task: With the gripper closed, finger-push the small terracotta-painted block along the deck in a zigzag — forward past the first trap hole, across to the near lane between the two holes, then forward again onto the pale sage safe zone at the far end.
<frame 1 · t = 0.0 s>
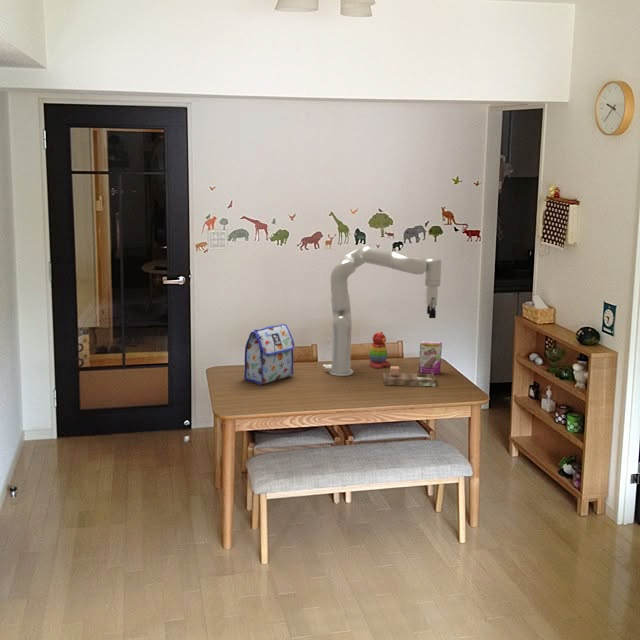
hand: (431, 315, 431), 31 cm above the table, tool pointing down, fingers open, 9 cm apart
stacking bear: (378, 365, 454), on the table
deck: (408, 381, 426), on the table
lunch bag: (269, 379, 427), on the table
candy bar box: (429, 373, 442), on the table
block: (394, 375, 430), point 2 cm above the table, touching deck
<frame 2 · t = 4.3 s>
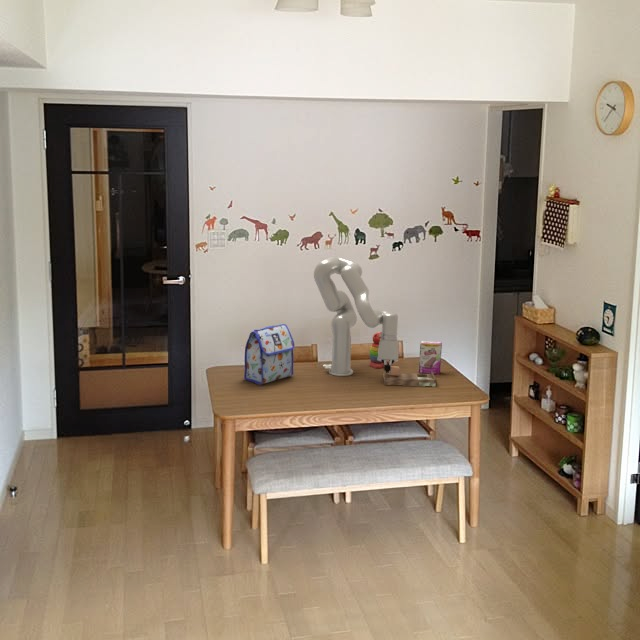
hand: (387, 371, 430), 4 cm above the table, tool pointing down, fingers closed
block: (394, 375, 430), point 2 cm above the table, touching deck, gripper
everything else where it was.
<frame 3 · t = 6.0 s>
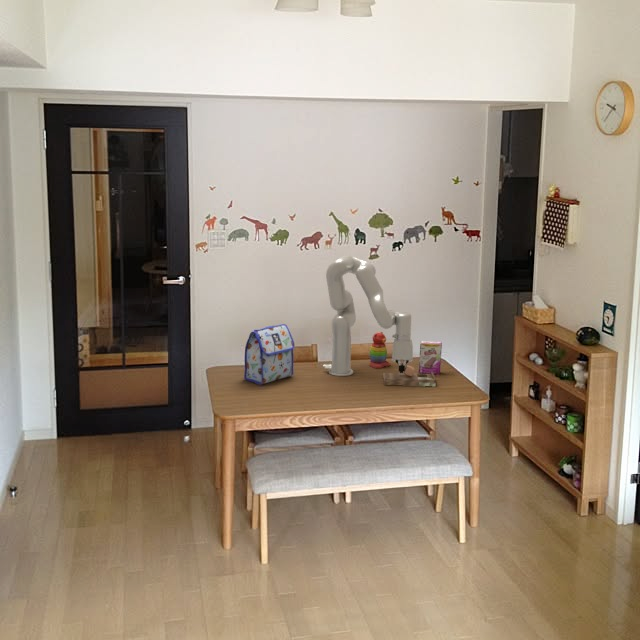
hand: (401, 372, 429), 4 cm above the table, tool pointing down, fingers closed
block: (407, 374, 429), point 2 cm above the table, tilted 19°, touching deck, gripper
everything else where it was.
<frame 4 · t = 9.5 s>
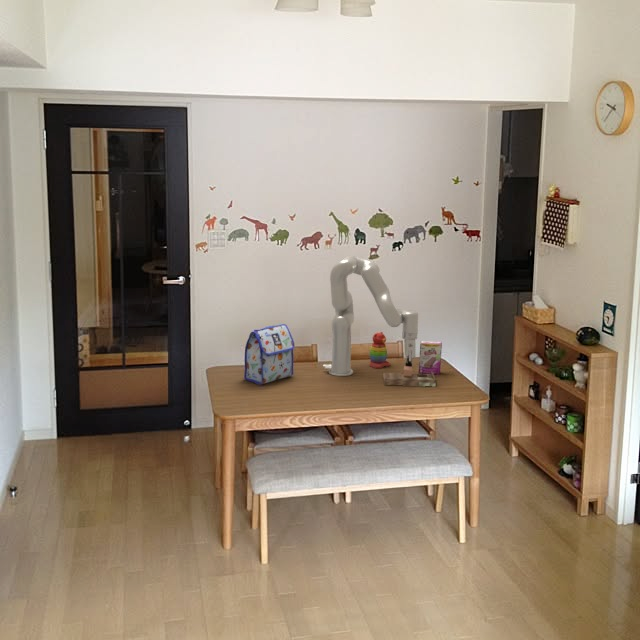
hand: (408, 370, 432), 4 cm above the table, tool pointing down, fingers closed
block: (407, 375, 429), point 2 cm above the table, tilted 7°, touching deck, gripper
everything else where it was.
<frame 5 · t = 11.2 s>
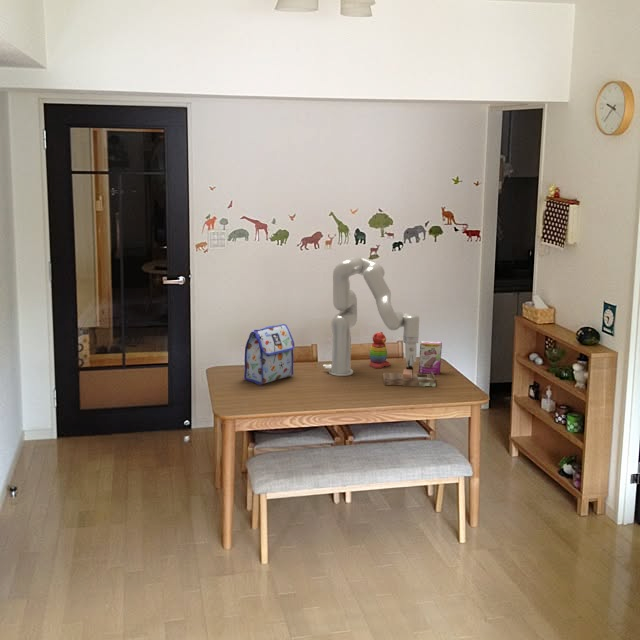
hand: (409, 374, 425), 4 cm above the table, tool pointing down, fingers closed
block: (407, 378, 423), point 3 cm above the table, tilted 20°, touching deck, gripper
everything else where it was.
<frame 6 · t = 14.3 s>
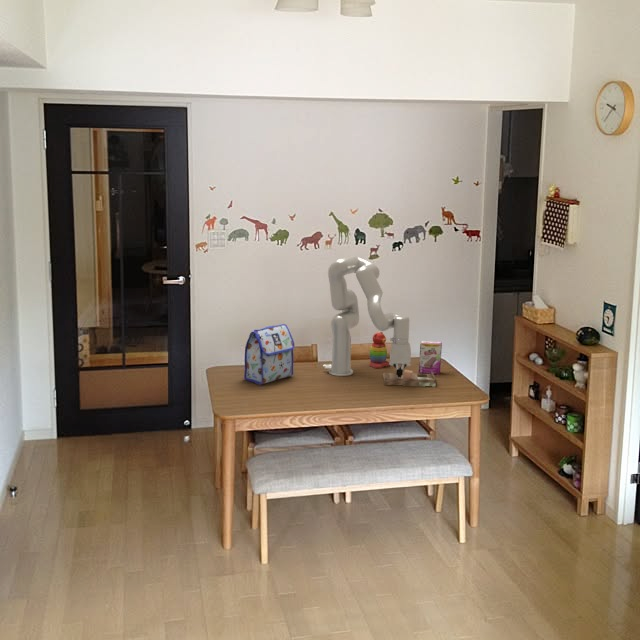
hand: (399, 376, 422), 4 cm above the table, tool pointing down, fingers closed
block: (407, 379, 423), point 2 cm above the table, touching deck, gripper
everything else where it was.
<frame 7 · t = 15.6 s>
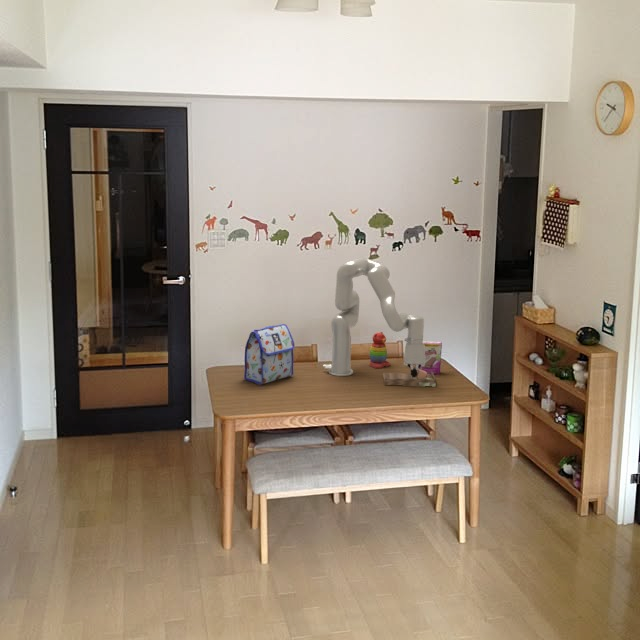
hand: (413, 376, 422), 4 cm above the table, tool pointing down, fingers closed
block: (419, 378, 423), point 3 cm above the table, tilted 20°, touching gripper
everything else where it was.
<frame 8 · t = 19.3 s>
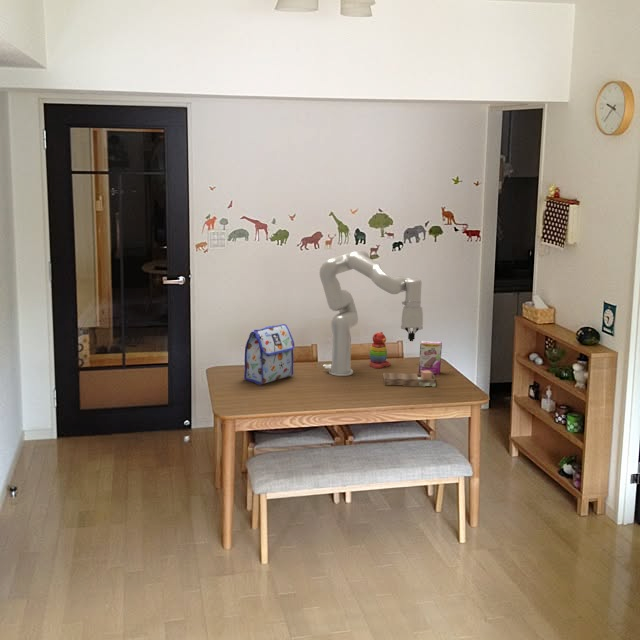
hand: (411, 340, 418), 22 cm above the table, tool pointing down, fingers closed
block: (426, 379, 423), point 2 cm above the table, touching deck
everything else where it was.
at the end: block 1.4 cm from the target spot on the deck, point 2.0 cm above the deck's base; block tilted 0° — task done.
